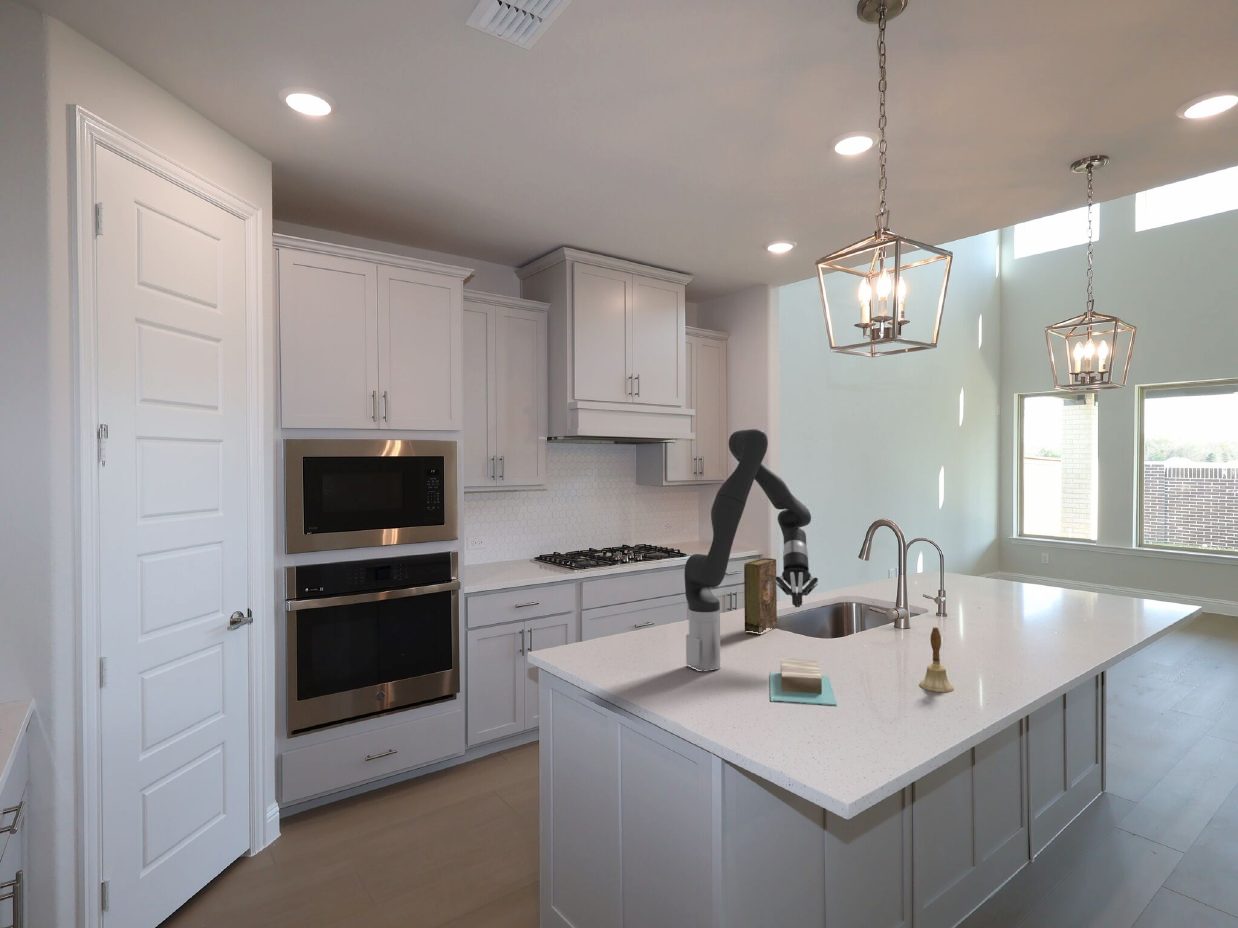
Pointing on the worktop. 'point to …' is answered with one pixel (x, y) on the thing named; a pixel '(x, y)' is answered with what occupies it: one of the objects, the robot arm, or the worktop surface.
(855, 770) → the worktop surface
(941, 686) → the hand bell
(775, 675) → the mat
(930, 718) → the worktop surface
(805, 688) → the block
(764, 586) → the book
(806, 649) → the worktop surface
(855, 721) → the worktop surface
